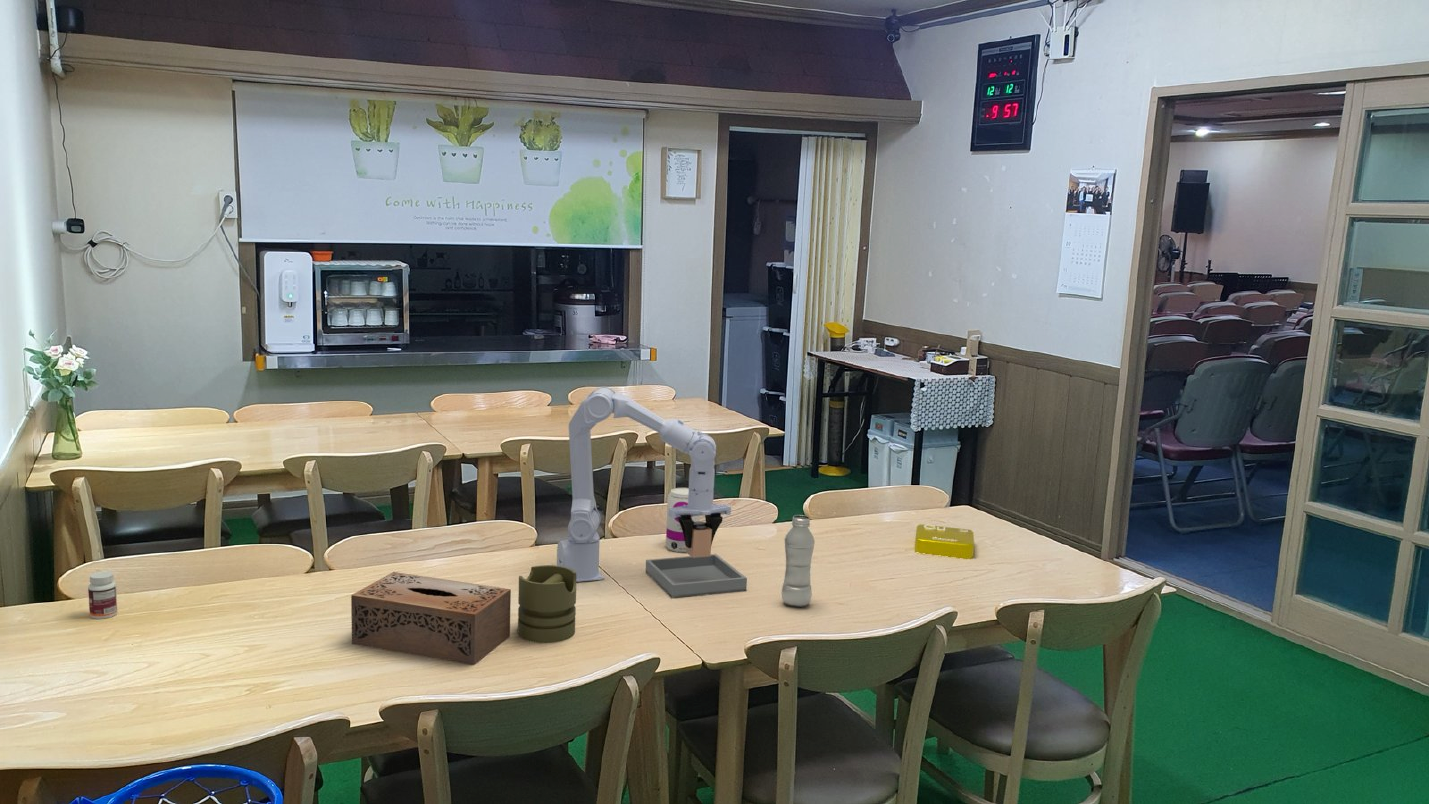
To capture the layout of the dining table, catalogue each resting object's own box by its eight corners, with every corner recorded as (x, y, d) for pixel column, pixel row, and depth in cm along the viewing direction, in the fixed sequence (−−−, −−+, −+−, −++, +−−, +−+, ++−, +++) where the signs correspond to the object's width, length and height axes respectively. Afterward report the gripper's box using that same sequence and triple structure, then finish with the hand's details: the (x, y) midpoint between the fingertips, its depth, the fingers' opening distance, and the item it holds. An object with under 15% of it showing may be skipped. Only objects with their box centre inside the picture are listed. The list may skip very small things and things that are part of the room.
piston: (508, 579, 204) (534, 562, 214) (507, 638, 206) (532, 618, 216) (562, 587, 201) (585, 569, 211) (561, 646, 203) (583, 626, 213)
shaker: (692, 557, 238) (694, 527, 237) (685, 551, 242) (687, 521, 241) (710, 556, 240) (712, 526, 239) (703, 550, 244) (704, 520, 243)
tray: (672, 598, 232) (672, 585, 231) (645, 572, 248) (646, 559, 247) (746, 590, 239) (746, 578, 238) (715, 565, 255) (716, 553, 254)
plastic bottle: (809, 611, 228) (815, 522, 224) (778, 607, 229) (784, 519, 226) (812, 601, 234) (818, 514, 231) (782, 598, 235) (788, 511, 232)
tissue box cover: (509, 637, 206) (510, 589, 205) (474, 666, 193) (475, 614, 191) (393, 618, 213) (393, 571, 211) (351, 645, 199) (351, 595, 197)
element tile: (913, 554, 273) (915, 537, 272) (915, 538, 288) (917, 521, 287) (972, 561, 270) (974, 543, 269) (971, 544, 284) (973, 527, 284)
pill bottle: (92, 611, 208) (89, 571, 207) (119, 609, 210) (117, 569, 208) (87, 620, 204) (85, 579, 202) (115, 618, 205) (113, 577, 204)
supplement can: (697, 554, 263) (700, 496, 261) (664, 552, 263) (667, 494, 261) (698, 544, 271) (701, 488, 269) (666, 542, 271) (669, 486, 269)
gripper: (677, 494, 232) (674, 553, 234) (737, 491, 238) (734, 548, 240) (666, 486, 238) (664, 544, 241) (725, 483, 244) (722, 539, 246)
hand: (698, 545), depth 241 cm, fingers closed on shaker, 4 cm apart
